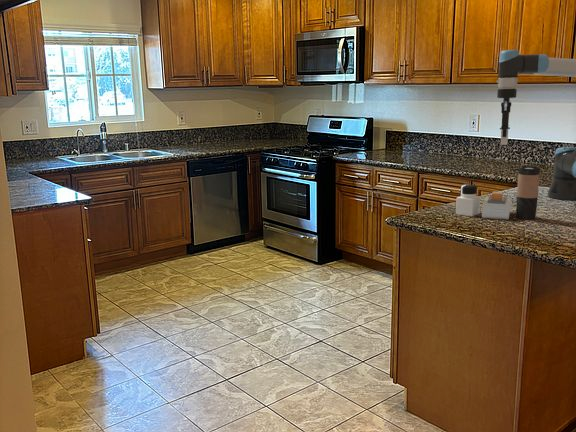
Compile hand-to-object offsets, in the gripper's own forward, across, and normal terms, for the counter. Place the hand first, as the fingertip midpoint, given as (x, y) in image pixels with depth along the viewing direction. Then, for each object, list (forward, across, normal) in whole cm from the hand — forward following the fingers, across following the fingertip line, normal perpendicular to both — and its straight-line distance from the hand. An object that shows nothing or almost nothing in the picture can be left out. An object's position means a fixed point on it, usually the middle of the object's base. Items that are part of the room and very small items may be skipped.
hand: (503, 144), depth 243 cm
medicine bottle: (+26, +24, -12) cm, 37 cm away
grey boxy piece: (+26, +22, 0) cm, 34 cm away
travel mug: (+26, +24, +10) cm, 37 cm away
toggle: (+20, +24, 0) cm, 32 cm away
